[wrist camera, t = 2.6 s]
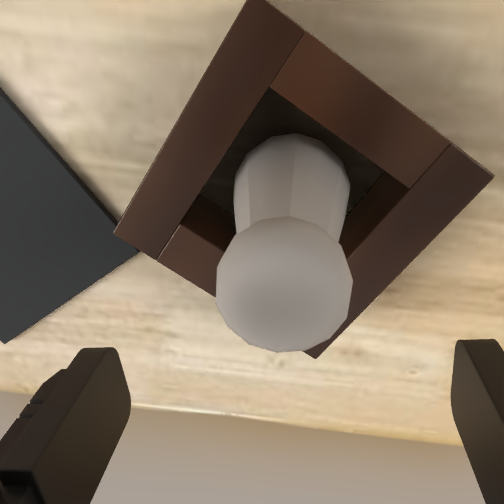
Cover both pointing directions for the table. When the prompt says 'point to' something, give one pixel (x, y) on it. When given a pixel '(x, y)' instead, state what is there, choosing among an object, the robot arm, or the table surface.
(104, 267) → the mat
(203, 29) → the table surface
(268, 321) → the salt shaker
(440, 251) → the table surface
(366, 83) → the holder
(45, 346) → the table surface
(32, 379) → the table surface
